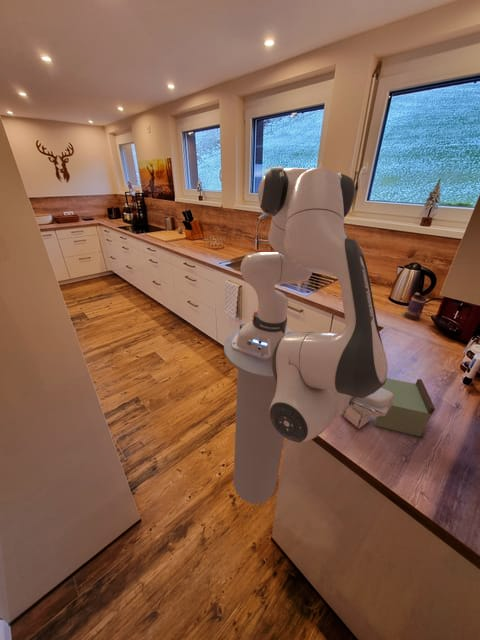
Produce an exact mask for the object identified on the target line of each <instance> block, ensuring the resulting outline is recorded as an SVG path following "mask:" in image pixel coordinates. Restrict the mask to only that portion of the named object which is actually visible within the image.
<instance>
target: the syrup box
mask: <svg viewBox="0 0 480 640" xmlns="http://www.w3.org/2000/svg"><path fill="white" fill-rule="evenodd" d="M381 388H383V386H382V387H381ZM342 417H343V418H345V419H346V420H347V421H348V422H350V424H352V425H353V426H354V427H355V428H357V429H360V428H361V427H363V426H365V425H366V424H368V423H369V422H370V421H371V418H372V416H371V415H368V414H366V413H364V412H361V411H359V410H357V409H355V408H353V407H351V406H350V407H349V408H348V409H347V410H346V411H344V412H343V413H342Z"/></svg>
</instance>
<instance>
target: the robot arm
mask: <svg viewBox="0 0 480 640" xmlns="http://www.w3.org/2000/svg"><path fill="white" fill-rule="evenodd" d="M355 195H356V185H355V182H354V179H353V178H352V177H350V176H348V175H347V174H343V173H341V172H338V173H335V172H334V171H333V170H331V169H328V168H326V167H313V168H305V167H284V166H283V165H279V166H272V167H269V168H268V169H267V170H266V171H264V175H263V176H262V178H261V180H260V182H259V185H258V190H257V197H258V203H259V208H260V209H261V211H262V212H263V213H264V214H266V215H269V216H271V220H270V226H269V230H268V234H267V240H268V243H269V246H270V247H271V248H272V249H273V250H274V251H275V252H273V251H271V252H269V251H268V252H267V251H266V252H262V251H261V252H254V253H249V254H246V255H245V256H244V257H243V258H242V261H241V263H240V274H241V277H242V279H243V280H244V281H245V283H247V284H248V285H250V286H251V287H252V288H253V290H254V291H255V293H256V296H257V309H255V310H254V311H253V315H252V319H251V321H249V322H247V323H239V329H240V331H239V333H238V334H236V335H235V337H234V338H233V340H232V349H234V350H236V351H239V352H242V353H245V354H248V355H251V356H254V357H257V358H260V359H263V360H267V359H269V358H271V357H272V370H273V375H274V378H275V381H276V384H277V388H276V393H275V396H274V399H273V401H272V403H271V405H270V410H269V414H270V419H271V422H272V424H273V426H274V427H275V429H276V430H277V431H278V432H279V433H280V434H281V435H282V436H284V439H287V440H288V441H292V442H294V443H306V442H309V441H311V440H313V439H315V438H316V437H318V436H320V435H321V434H322V433H323V432H325V431H326V430H327V429H328V428H329V427H330V426H331V425H332V424H333V422H334V421H335V420H336V419H338V418H339V417H340V416H341V415H343V413H344V411H346V410H347V409H348V408H349V407H350V406H351V407H353V408H355V409H357V410H359V411H361V412H364V413H366V414H368V415H371V417H375V418H376V417H378V416H385V415H386V414H387V412H388V410H389V409H390V408H391V405H392V402H393V399H394V394H393V393H392V392H391V391H389V390H386V389H383V388H381V387H382V386H383V385H384V384H385V382H386V378H388V372H389V371H388V369H389V366H388V359H387V354H386V351H385V349H384V345H383V340H382V338H381V334H380V329H379V325H378V319H377V314H376V308H375V303H374V297H373V292H372V291H373V290H372V286H371V281H370V276H369V271H368V267H367V263H366V259H365V255H364V251H363V250H362V248H361V246H360V245H359V243H358V242H357V240H356V239H354V238H351V237H348V236H347V234H346V232H345V221H344V220H345V217H347V215H348V214H349V213H350V210H351V209H352V206H353V204H354V201H355ZM313 273H317V274H321V275H326V276H330V277H333V278H336V279H337V281H338V283H339V286H340V293H341V301H342V308H343V313H344V314H343V315H344V320H345V327H344V329H343V330H342V331H339V332H338V331H336V332H334V331H333V332H329V331H328V332H315V331H295V332H289V333H287V334H285V331H286V328H288V327H287V326H288V317H287V315H288V307H289V299H288V297H287V296H286V295H285V293H283V292H281V290H280V291H279V290H277V289H275V287H276V285H294V284H299V283H304V282H307V281H309V279H310V278H311V277H312V275H313Z"/></svg>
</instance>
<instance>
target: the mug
mask: <svg viewBox="0 0 480 640" xmlns="http://www.w3.org/2000/svg"><path fill="white" fill-rule="evenodd" d="M426 302H427V297H426V296H425V295H422V294H420V292H415V293H414V294H413V296H412V297H411V299H410V301H409V303H408V306H407V308H406V310H405V312H404V316H405V318H407V319H408V320H414V321H418V320H420V318H421V316H422V314H423V310H424V307H425V304H426Z"/></svg>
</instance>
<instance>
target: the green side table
mask: <svg viewBox="0 0 480 640" xmlns="http://www.w3.org/2000/svg"><path fill="white" fill-rule="evenodd" d="M383 389H386V390H389V391H391V392H392V393H393V394H394V399H393V402H392V405H391V408H390V409H389V410H388V412H387V414H386V415H385V416H378V417H375V418H374V421H373V426H376V427H379V428H382V429H386V430H391V431H395V432H400V433H403V434H407V435H412V436H416V437H421V436H422V434H423V432H424V430H425V428H426V426H427V425H428V423H429V421H430V419H431V417H432V416H433V414H434V412H435V411H436V407H435V406H434V403H433V401H432V399H431V396H430V395H429V392H428V390H427V388H426V386H425V384H424V382H423V379H422V378H417V380H416V382H415V383H413V382H409V381H403V380H398V379H393V378H388V377H387V378H386V382H385V384H384V385H383Z"/></svg>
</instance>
